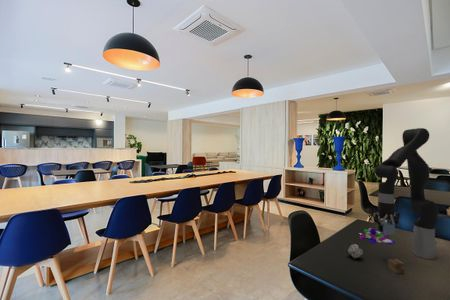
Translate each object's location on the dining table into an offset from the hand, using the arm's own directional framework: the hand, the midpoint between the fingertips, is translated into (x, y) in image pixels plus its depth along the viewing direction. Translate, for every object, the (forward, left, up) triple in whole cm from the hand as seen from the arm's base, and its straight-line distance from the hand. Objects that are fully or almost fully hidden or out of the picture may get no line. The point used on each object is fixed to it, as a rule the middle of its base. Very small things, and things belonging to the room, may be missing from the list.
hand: (385, 231), depth 121 cm
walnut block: (+2, +10, -17) cm, 19 cm away
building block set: (-19, -32, -17) cm, 41 cm away
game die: (+15, -3, -17) cm, 23 cm away
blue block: (0, 0, -1) cm, 1 cm away
